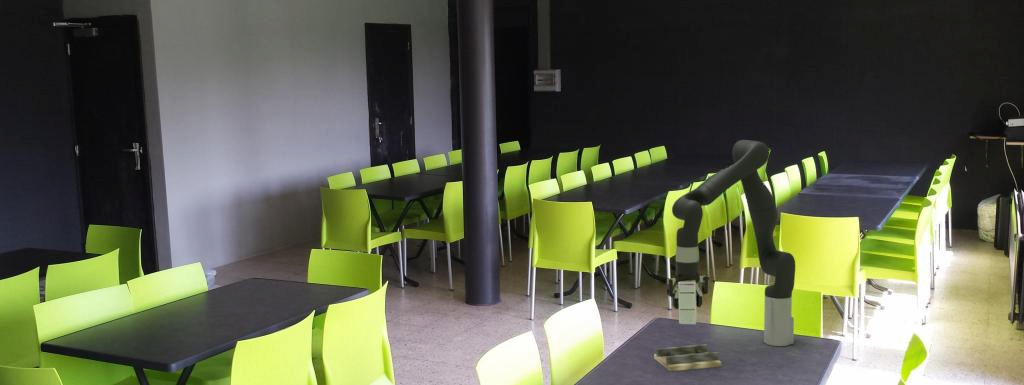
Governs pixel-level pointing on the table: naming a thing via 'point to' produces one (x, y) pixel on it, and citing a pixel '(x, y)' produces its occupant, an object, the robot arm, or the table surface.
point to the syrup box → (687, 302)
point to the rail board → (687, 357)
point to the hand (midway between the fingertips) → (687, 307)
